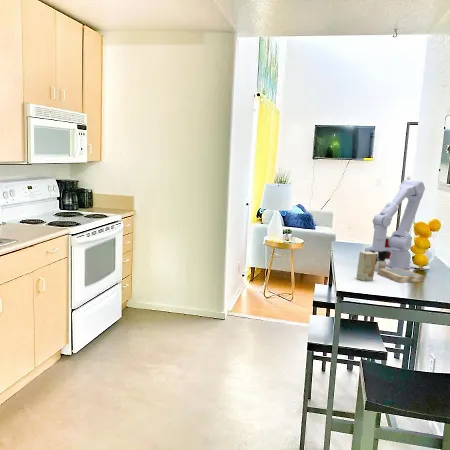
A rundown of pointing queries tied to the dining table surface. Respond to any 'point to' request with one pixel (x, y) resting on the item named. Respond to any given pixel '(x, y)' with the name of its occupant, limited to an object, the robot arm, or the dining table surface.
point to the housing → (379, 264)
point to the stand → (400, 275)
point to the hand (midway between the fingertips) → (376, 266)
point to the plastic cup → (387, 246)
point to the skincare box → (366, 266)
